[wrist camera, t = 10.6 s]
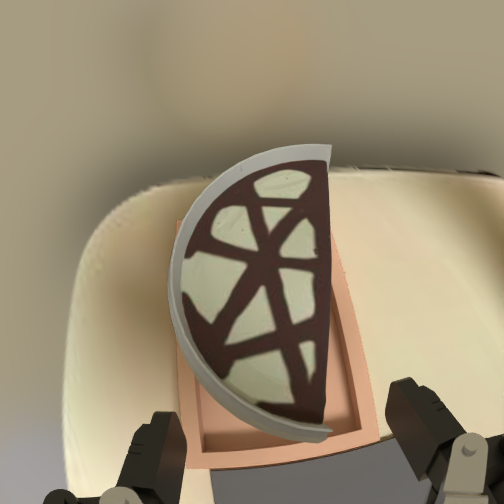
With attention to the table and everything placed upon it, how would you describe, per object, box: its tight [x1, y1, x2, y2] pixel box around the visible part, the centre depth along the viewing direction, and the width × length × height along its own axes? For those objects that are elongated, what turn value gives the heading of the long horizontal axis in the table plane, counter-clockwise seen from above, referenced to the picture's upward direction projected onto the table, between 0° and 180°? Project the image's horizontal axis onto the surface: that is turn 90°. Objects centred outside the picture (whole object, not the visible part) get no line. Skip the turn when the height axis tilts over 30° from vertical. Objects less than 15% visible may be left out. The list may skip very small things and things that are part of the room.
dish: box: [176, 220, 380, 469], centre depth 18 cm, size 11×17×2 cm, turn 7°
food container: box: [167, 144, 332, 444], centre depth 14 cm, size 12×6×10 cm, turn 173°
